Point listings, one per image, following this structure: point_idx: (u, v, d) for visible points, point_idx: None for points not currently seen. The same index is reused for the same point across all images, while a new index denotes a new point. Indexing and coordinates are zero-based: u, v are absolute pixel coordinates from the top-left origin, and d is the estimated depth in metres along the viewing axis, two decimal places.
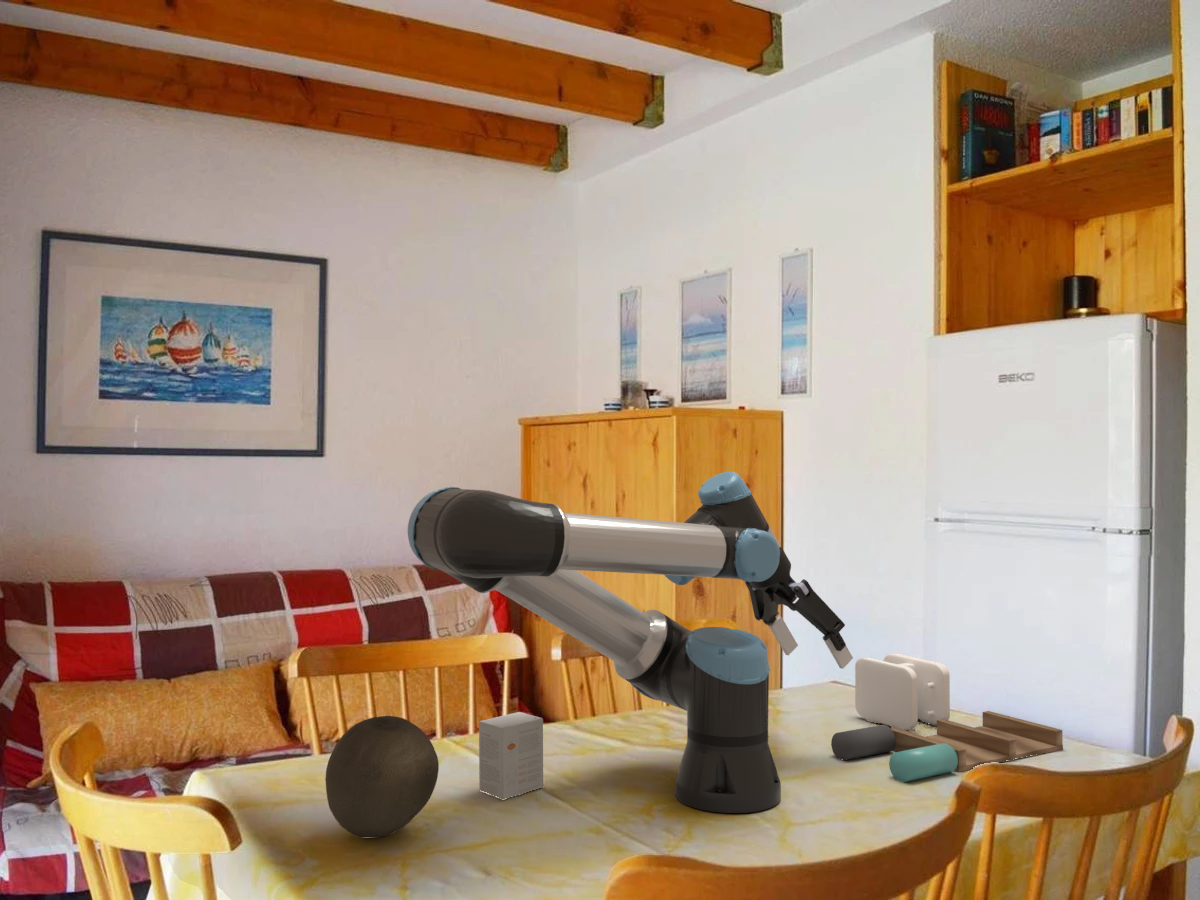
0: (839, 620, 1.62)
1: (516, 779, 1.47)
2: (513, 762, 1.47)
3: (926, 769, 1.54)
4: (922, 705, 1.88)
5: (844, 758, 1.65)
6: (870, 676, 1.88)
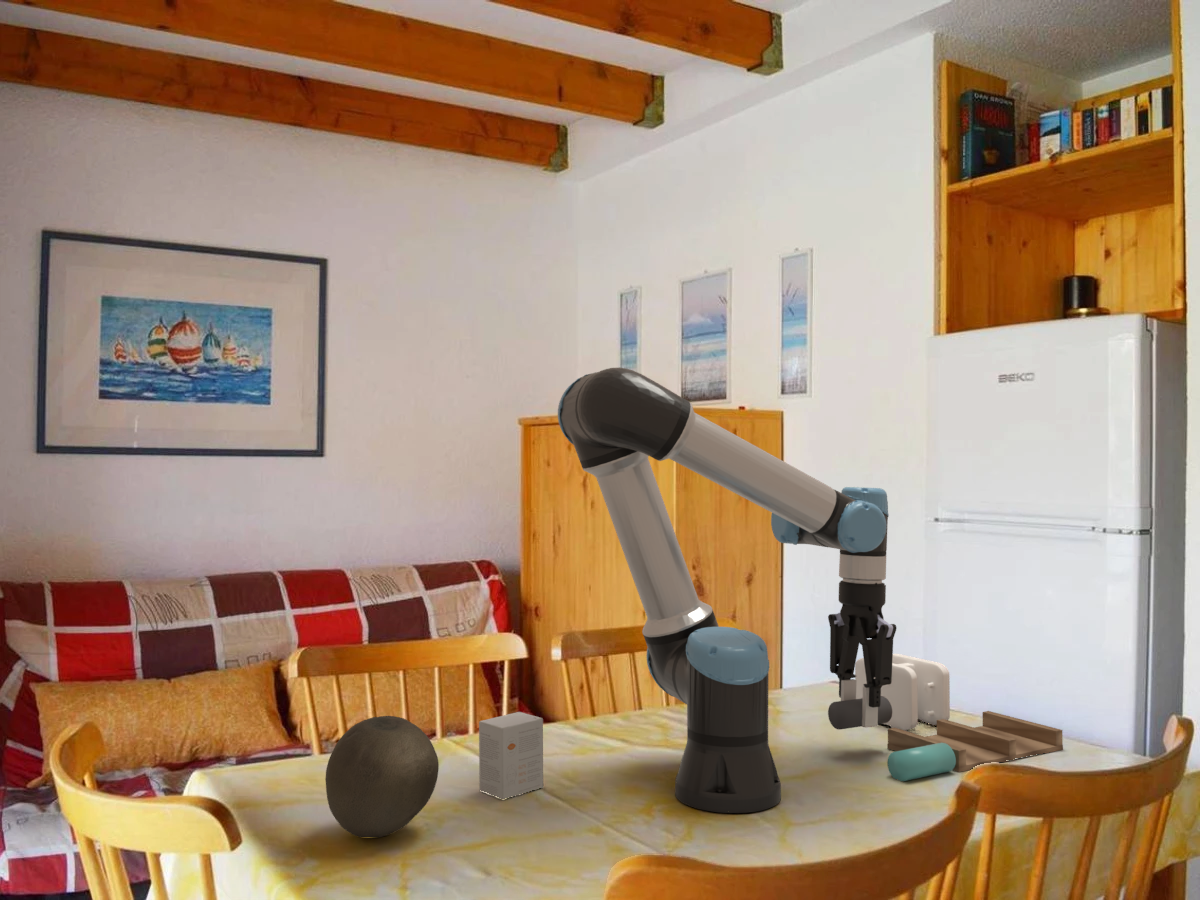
0: (890, 677, 1.63)
1: (516, 779, 1.47)
2: (513, 762, 1.47)
3: (924, 766, 1.54)
4: (922, 705, 1.88)
5: (836, 727, 1.66)
6: None
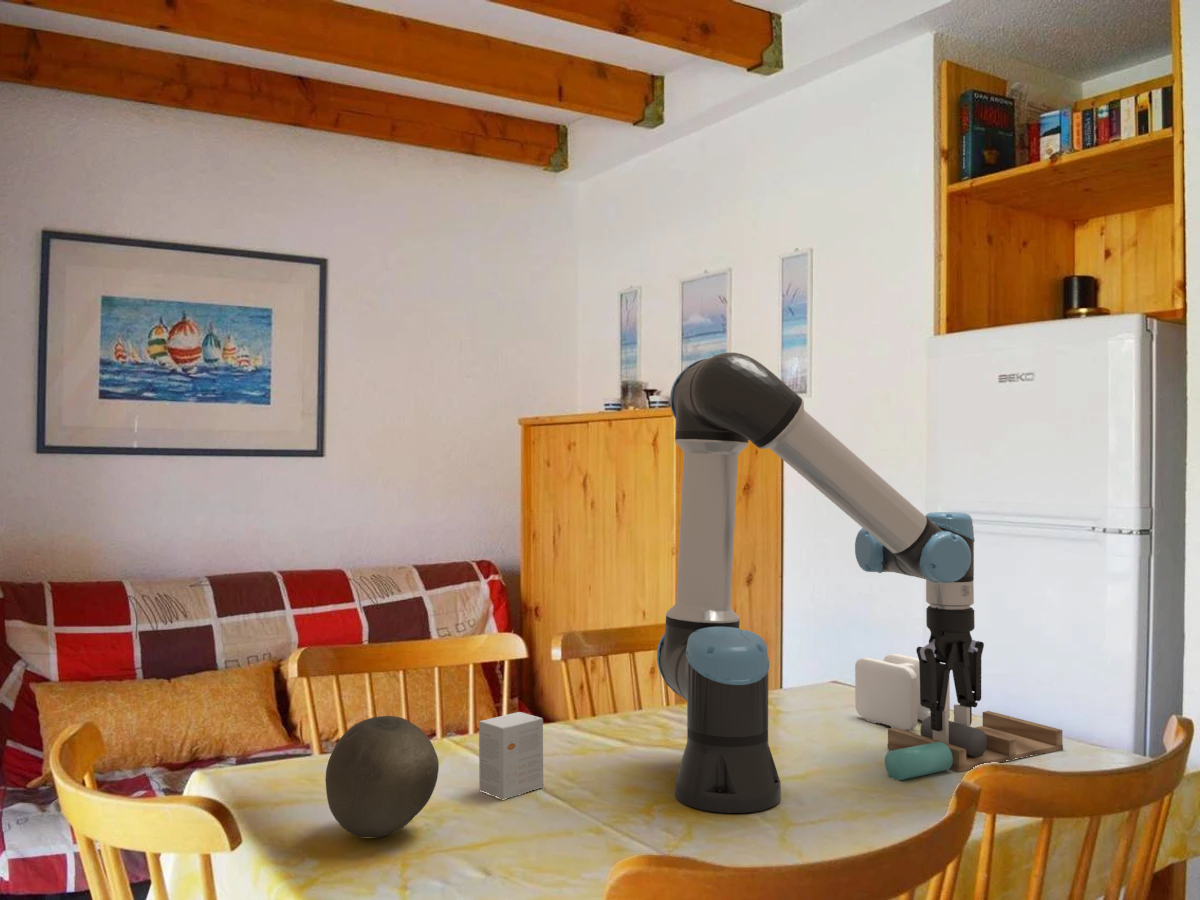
0: (930, 701, 1.64)
1: (516, 779, 1.47)
2: (513, 762, 1.47)
3: (921, 761, 1.55)
4: None
5: None
6: (870, 676, 1.88)
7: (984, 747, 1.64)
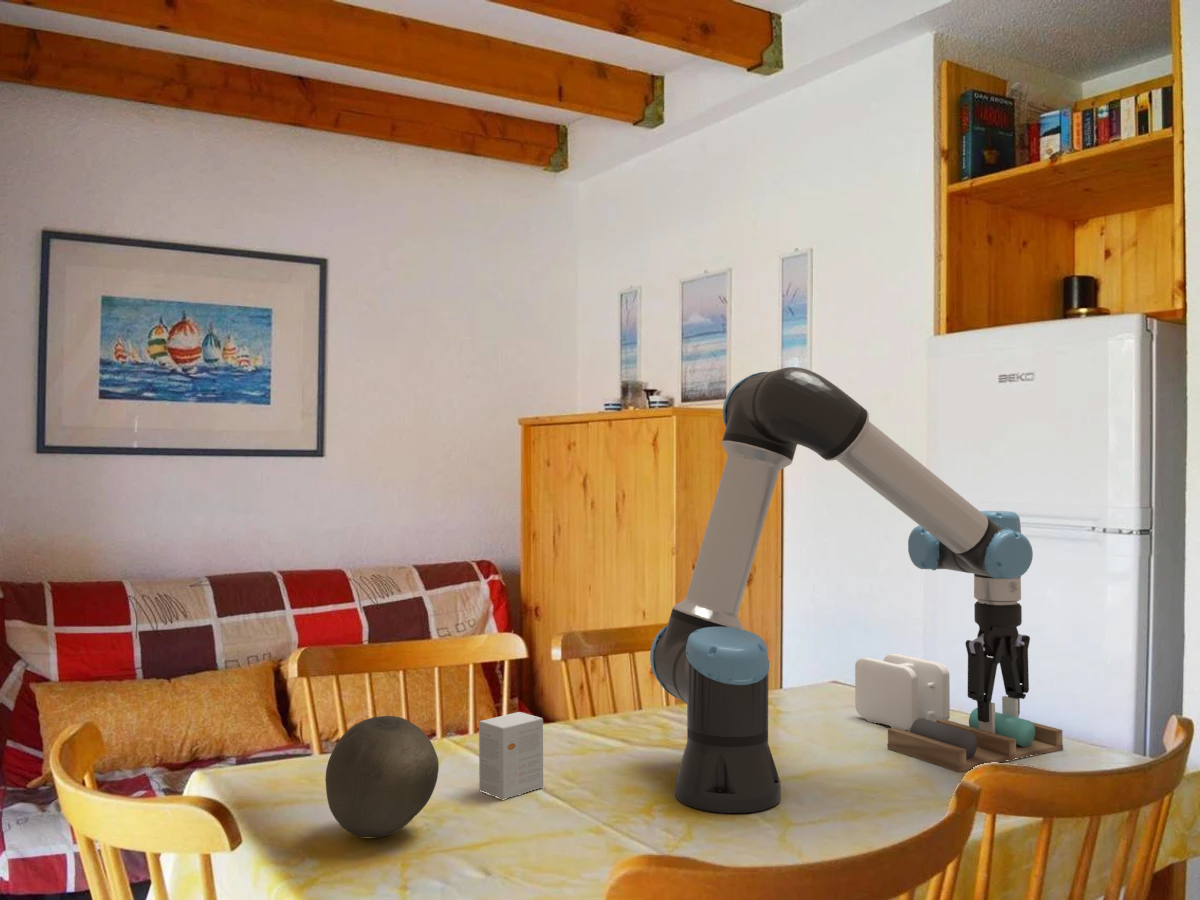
0: (978, 693, 1.70)
1: (516, 779, 1.47)
2: (513, 762, 1.47)
3: None
4: (922, 705, 1.88)
5: None
6: (870, 676, 1.88)
7: (974, 738, 1.63)
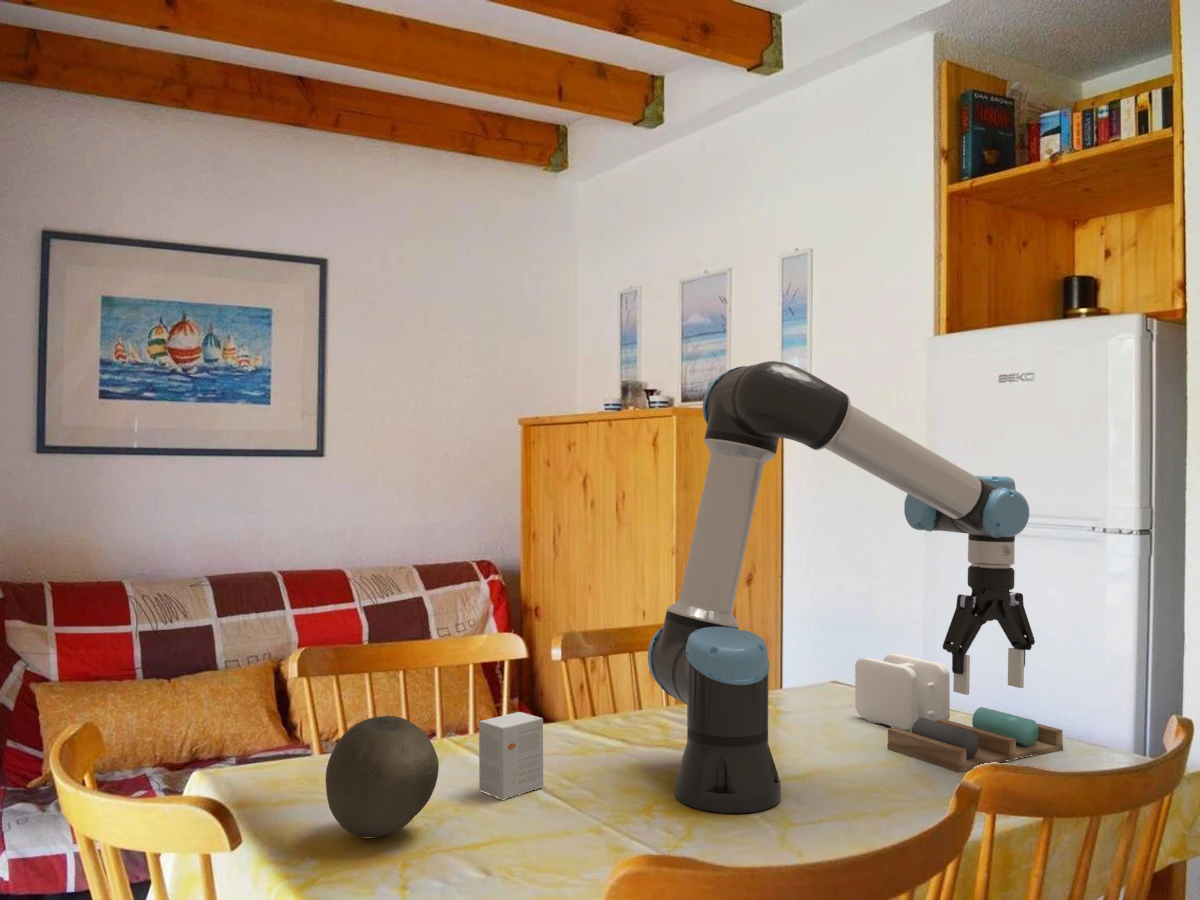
0: (954, 643, 1.69)
1: (516, 779, 1.47)
2: (513, 762, 1.47)
3: (990, 715, 1.75)
4: (922, 705, 1.88)
5: None
6: (870, 676, 1.88)
7: (976, 739, 1.63)
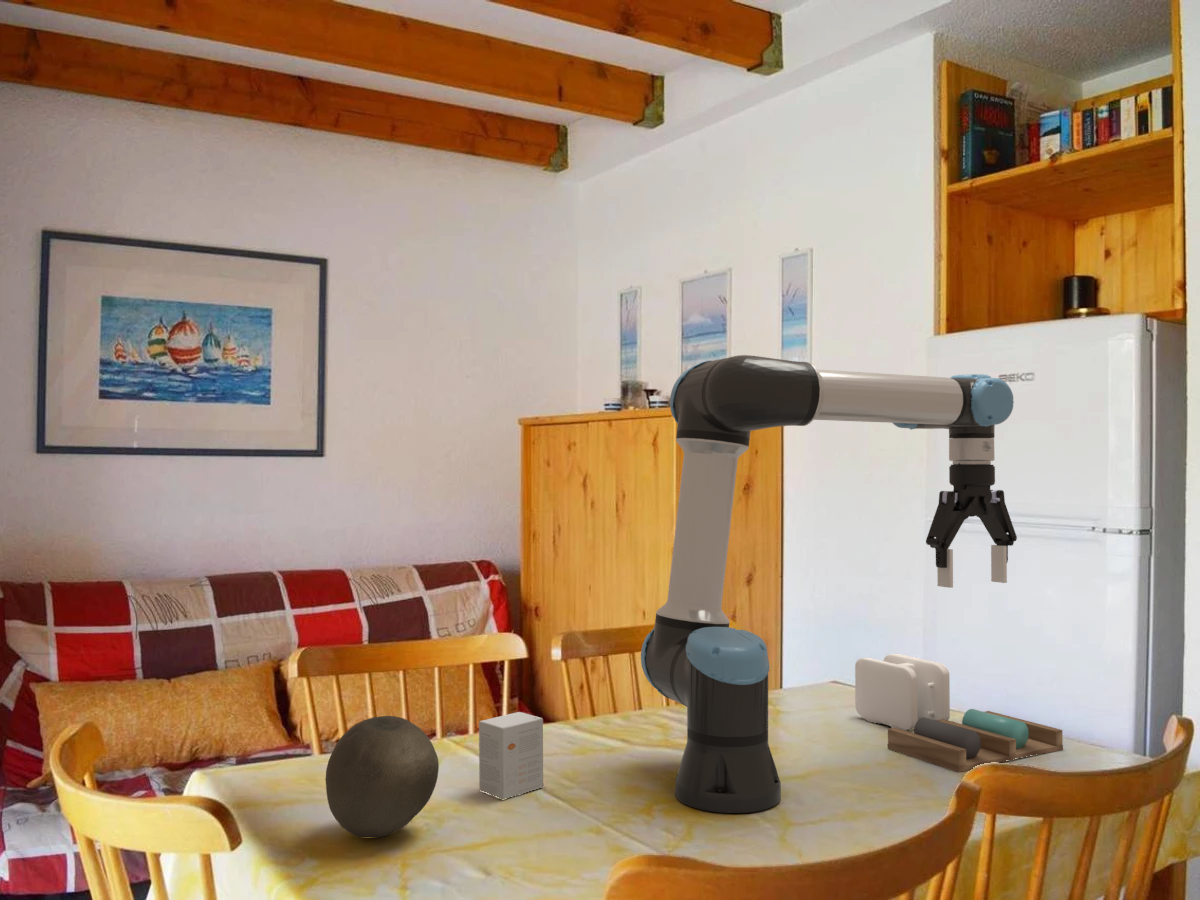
0: (937, 537, 1.73)
1: (516, 779, 1.47)
2: (513, 762, 1.47)
3: None
4: (922, 705, 1.88)
5: None
6: (870, 676, 1.88)
7: (978, 741, 1.64)
